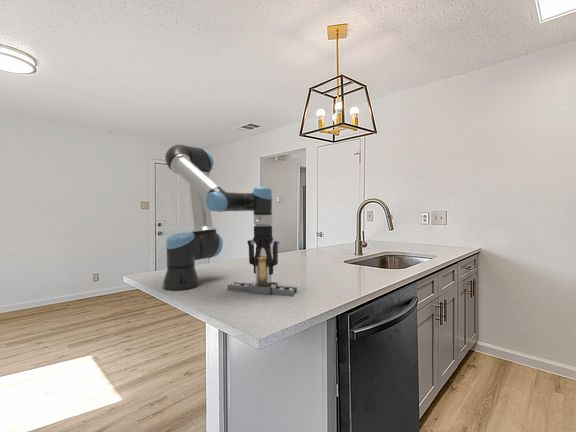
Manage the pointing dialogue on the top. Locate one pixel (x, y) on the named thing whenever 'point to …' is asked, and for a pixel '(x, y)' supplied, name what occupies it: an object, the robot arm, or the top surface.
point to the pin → (262, 270)
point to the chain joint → (263, 288)
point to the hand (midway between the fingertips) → (263, 281)
